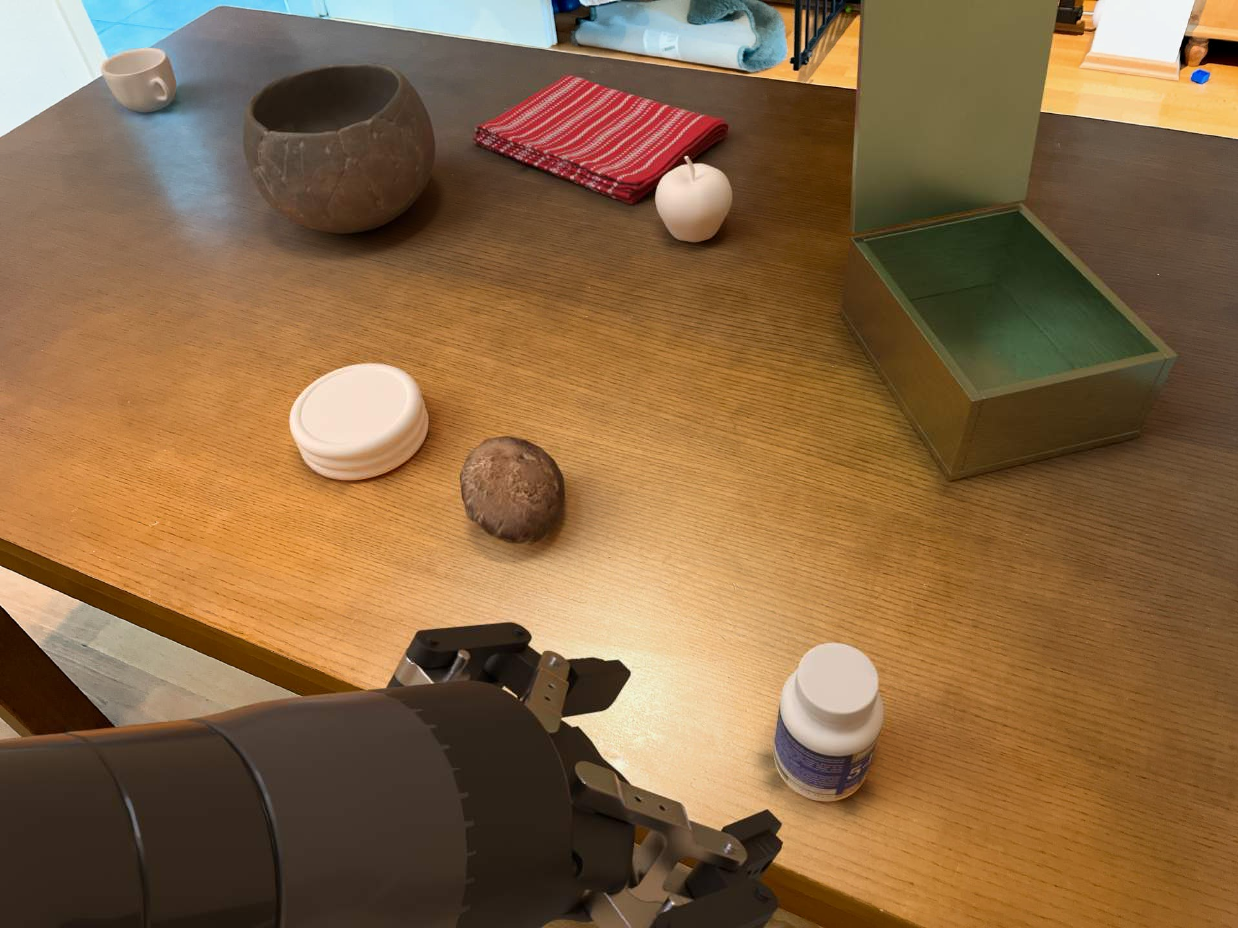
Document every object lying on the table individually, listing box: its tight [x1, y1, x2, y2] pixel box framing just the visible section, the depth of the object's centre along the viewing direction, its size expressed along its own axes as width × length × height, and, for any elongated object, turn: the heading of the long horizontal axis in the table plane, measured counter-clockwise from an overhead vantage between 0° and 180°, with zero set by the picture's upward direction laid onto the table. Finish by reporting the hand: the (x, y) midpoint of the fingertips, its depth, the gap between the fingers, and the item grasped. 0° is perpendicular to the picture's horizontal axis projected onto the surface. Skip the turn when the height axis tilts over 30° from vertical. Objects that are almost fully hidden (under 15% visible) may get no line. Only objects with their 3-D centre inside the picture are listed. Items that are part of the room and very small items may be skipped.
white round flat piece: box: [288, 362, 430, 481], centre depth 70 cm, size 10×10×4 cm
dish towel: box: [472, 74, 730, 205], centre depth 100 cm, size 17×24×3 cm
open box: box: [839, 202, 1179, 482], centre depth 69 cm, size 20×15×8 cm
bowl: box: [242, 62, 436, 234], centre depth 89 cm, size 18×18×13 cm
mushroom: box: [459, 435, 566, 546], centre depth 63 cm, size 8×8×6 cm
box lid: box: [849, 0, 1060, 234], centre depth 68 cm, size 20×15×4 cm
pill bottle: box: [773, 642, 885, 802], centre depth 48 cm, size 5×5×9 cm
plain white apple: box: [654, 156, 733, 243], centre depth 85 cm, size 7×7×8 cm
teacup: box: [100, 47, 177, 113], centre depth 112 cm, size 10×8×5 cm
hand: (684, 754), depth 37 cm, fingers open, 8 cm apart
